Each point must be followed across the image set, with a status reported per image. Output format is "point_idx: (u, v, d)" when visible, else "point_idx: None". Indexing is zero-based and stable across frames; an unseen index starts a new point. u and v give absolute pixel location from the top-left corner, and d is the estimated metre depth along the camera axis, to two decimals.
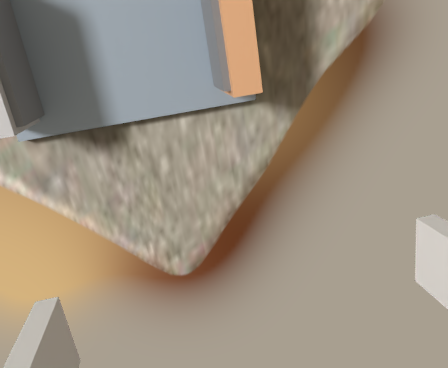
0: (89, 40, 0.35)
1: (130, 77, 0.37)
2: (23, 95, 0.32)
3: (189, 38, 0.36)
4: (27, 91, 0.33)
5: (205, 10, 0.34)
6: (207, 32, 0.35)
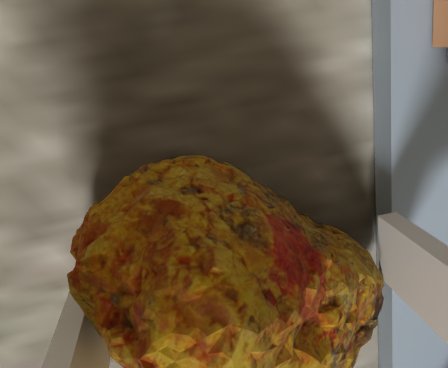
0: None
1: None
2: None
3: None
4: None
5: None
6: None
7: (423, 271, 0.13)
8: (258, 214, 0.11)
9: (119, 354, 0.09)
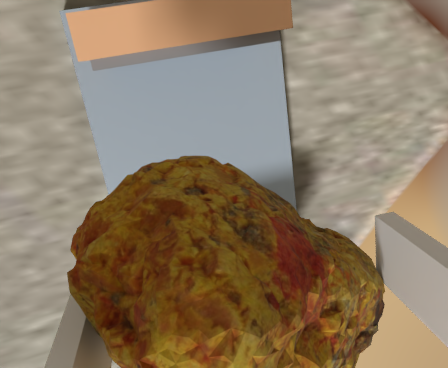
0: None
1: (241, 147, 0.31)
2: None
3: (197, 75, 0.29)
4: None
5: None
6: None
7: (420, 271, 0.13)
8: (262, 217, 0.11)
9: (118, 355, 0.09)
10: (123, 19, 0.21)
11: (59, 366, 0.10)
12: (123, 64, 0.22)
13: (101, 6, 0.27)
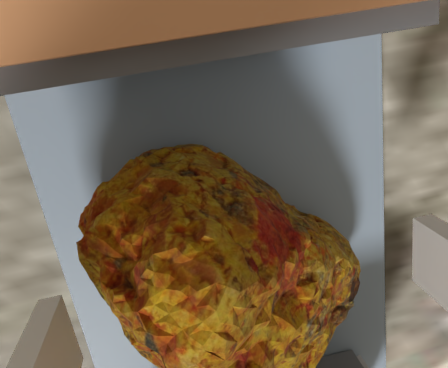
0: None
1: None
2: None
3: (229, 93, 0.16)
4: None
5: None
6: None
7: None
8: (246, 196, 0.12)
9: (120, 309, 0.11)
10: None
11: None
12: (69, 80, 0.09)
13: None
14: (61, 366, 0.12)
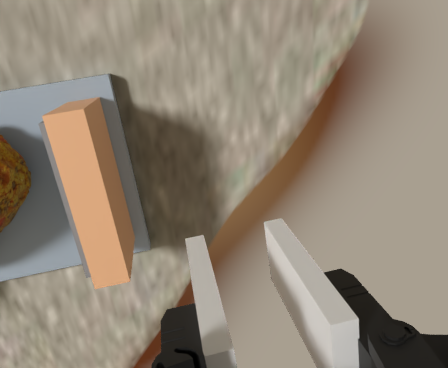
0: None
1: None
2: None
3: None
4: None
5: None
6: None
7: (287, 275, 0.14)
8: (4, 214, 0.27)
9: None
10: (84, 156, 0.24)
11: (207, 297, 0.12)
12: (48, 150, 0.24)
13: (115, 111, 0.30)
14: None
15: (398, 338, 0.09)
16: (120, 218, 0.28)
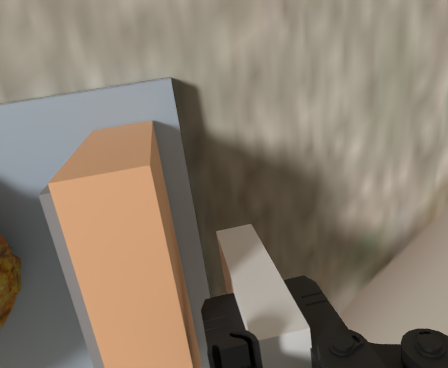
0: None
1: None
2: None
3: None
4: None
5: None
6: None
7: None
8: None
9: None
10: (144, 271, 0.10)
11: (248, 286, 0.12)
12: (60, 253, 0.11)
13: (180, 145, 0.17)
14: None
15: (347, 348, 0.09)
16: (195, 358, 0.15)
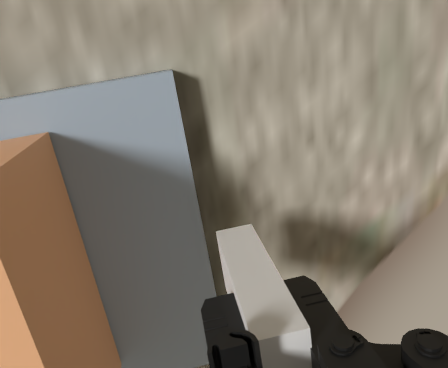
0: None
1: None
2: None
3: None
4: None
5: None
6: None
7: None
8: None
9: None
10: None
11: (248, 286, 0.12)
12: None
13: (183, 136, 0.17)
14: None
15: (347, 348, 0.09)
16: None
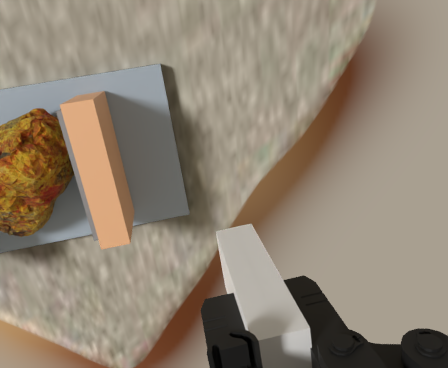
0: None
1: (63, 200, 0.38)
2: None
3: None
4: None
5: None
6: None
7: None
8: (64, 180, 0.32)
9: (14, 141, 0.29)
10: (93, 138, 0.30)
11: (248, 286, 0.12)
12: (63, 133, 0.30)
13: (165, 94, 0.36)
14: None
15: (347, 348, 0.09)
16: (122, 192, 0.34)
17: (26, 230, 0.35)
